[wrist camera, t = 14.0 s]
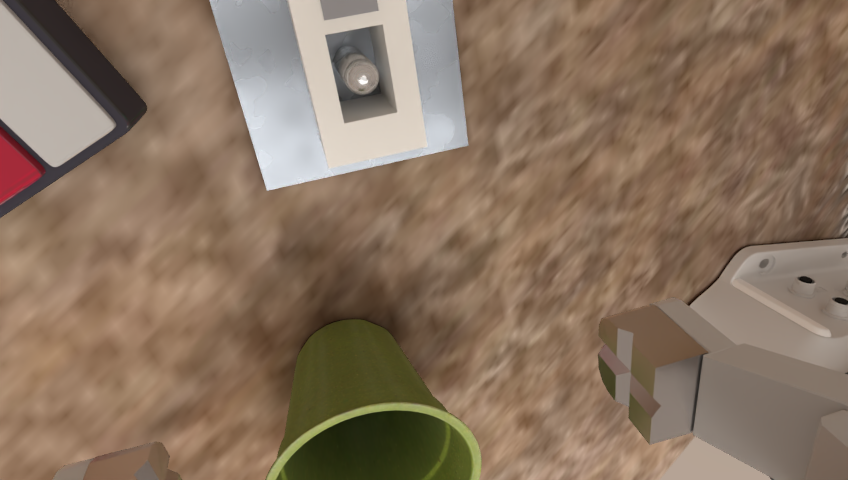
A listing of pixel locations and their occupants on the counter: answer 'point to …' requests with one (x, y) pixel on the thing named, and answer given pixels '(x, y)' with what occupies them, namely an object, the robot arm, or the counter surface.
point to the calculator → (53, 99)
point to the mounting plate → (354, 76)
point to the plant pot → (368, 415)
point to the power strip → (372, 115)
